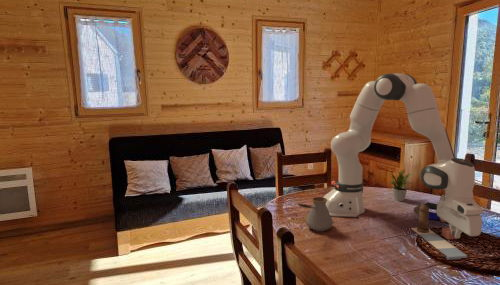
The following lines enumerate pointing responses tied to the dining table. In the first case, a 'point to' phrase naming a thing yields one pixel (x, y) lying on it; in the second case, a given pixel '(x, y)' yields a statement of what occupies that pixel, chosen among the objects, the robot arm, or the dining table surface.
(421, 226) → the pawn
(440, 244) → the track
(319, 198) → the coffee pot
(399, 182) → the house plant
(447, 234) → the salmon red cube
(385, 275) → the dining table surface
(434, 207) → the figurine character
